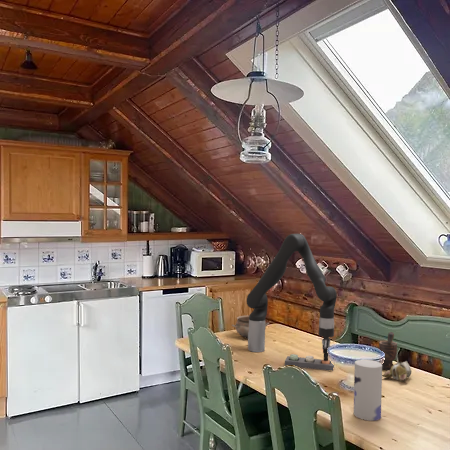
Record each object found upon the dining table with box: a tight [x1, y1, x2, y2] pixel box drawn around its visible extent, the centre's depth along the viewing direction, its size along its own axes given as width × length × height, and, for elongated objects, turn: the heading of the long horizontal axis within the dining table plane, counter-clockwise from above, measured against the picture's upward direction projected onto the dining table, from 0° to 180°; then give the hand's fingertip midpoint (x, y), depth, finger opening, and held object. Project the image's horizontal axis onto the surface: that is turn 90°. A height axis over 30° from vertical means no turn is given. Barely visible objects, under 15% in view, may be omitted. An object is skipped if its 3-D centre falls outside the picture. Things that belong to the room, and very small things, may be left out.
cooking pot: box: [231, 315, 270, 340], centre depth 296 cm, size 25×19×12 cm
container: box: [353, 359, 383, 422], centre depth 179 cm, size 10×10×20 cm
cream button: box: [305, 355, 315, 363], centre depth 241 cm, size 4×4×3 cm
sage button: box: [289, 353, 299, 361], centre depth 243 cm, size 4×4×3 cm
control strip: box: [284, 355, 335, 372], centre depth 241 cm, size 24×9×2 cm, turn 74°
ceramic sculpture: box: [382, 360, 412, 383], centre depth 223 cm, size 11×9×15 cm
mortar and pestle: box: [378, 331, 398, 371], centre depth 237 cm, size 12×9×20 cm
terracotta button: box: [321, 358, 330, 364], centre depth 238 cm, size 4×4×3 cm
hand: (325, 360), depth 238 cm, fingers closed
